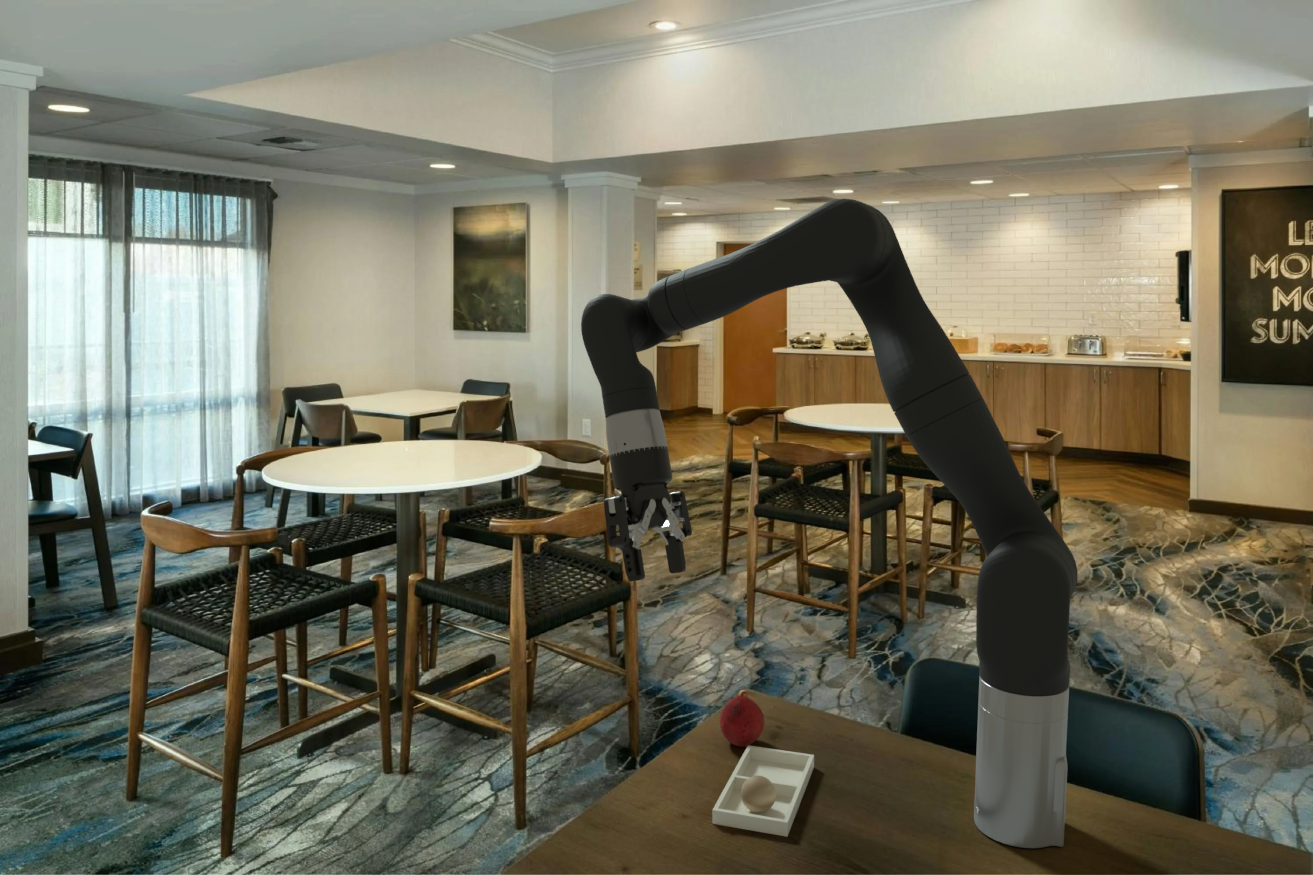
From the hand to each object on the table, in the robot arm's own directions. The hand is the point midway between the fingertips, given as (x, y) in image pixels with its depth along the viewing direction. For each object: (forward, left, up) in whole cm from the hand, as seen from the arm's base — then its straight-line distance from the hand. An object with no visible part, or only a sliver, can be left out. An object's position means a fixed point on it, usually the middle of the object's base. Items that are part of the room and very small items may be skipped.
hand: (658, 576), depth 119 cm
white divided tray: (-15, +5, -25) cm, 29 cm away
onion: (-9, -7, -25) cm, 27 cm away
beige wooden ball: (-15, +9, -24) cm, 30 cm away
